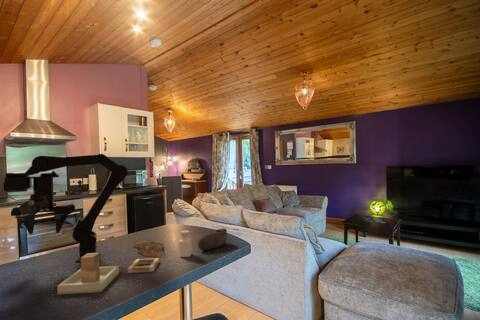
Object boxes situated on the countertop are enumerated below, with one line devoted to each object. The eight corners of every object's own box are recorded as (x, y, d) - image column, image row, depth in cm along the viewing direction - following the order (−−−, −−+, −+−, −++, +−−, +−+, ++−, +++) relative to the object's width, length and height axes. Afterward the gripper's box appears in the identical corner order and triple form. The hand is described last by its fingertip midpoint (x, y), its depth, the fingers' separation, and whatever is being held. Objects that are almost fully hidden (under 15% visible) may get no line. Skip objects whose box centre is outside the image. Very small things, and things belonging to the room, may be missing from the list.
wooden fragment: (130, 244, 113) (130, 242, 113) (155, 239, 119) (155, 237, 119) (145, 263, 92) (145, 260, 92) (174, 256, 98) (174, 253, 98)
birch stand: (136, 263, 91) (136, 258, 91) (159, 261, 92) (159, 257, 92) (128, 272, 83) (128, 268, 83) (152, 271, 84) (152, 267, 84)
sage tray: (82, 275, 83) (81, 267, 83) (119, 273, 83) (118, 265, 83) (57, 294, 71) (57, 285, 71) (101, 292, 71) (100, 283, 71)
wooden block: (88, 278, 79) (87, 253, 79) (99, 278, 79) (99, 252, 79) (81, 284, 75) (80, 257, 75) (93, 283, 75) (92, 257, 75)
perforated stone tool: (201, 254, 99) (201, 236, 99) (194, 250, 103) (194, 233, 103) (231, 245, 109) (230, 229, 109) (223, 242, 112) (223, 226, 112)
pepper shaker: (182, 253, 99) (182, 229, 99) (192, 253, 99) (191, 229, 99) (179, 257, 95) (178, 232, 96) (189, 257, 95) (188, 232, 95)
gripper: (-4, 194, 82) (-3, 241, 82) (55, 192, 83) (56, 239, 83) (23, 190, 93) (24, 232, 93) (75, 188, 94) (76, 230, 94)
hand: (44, 233), depth 90 cm, fingers open, 9 cm apart
